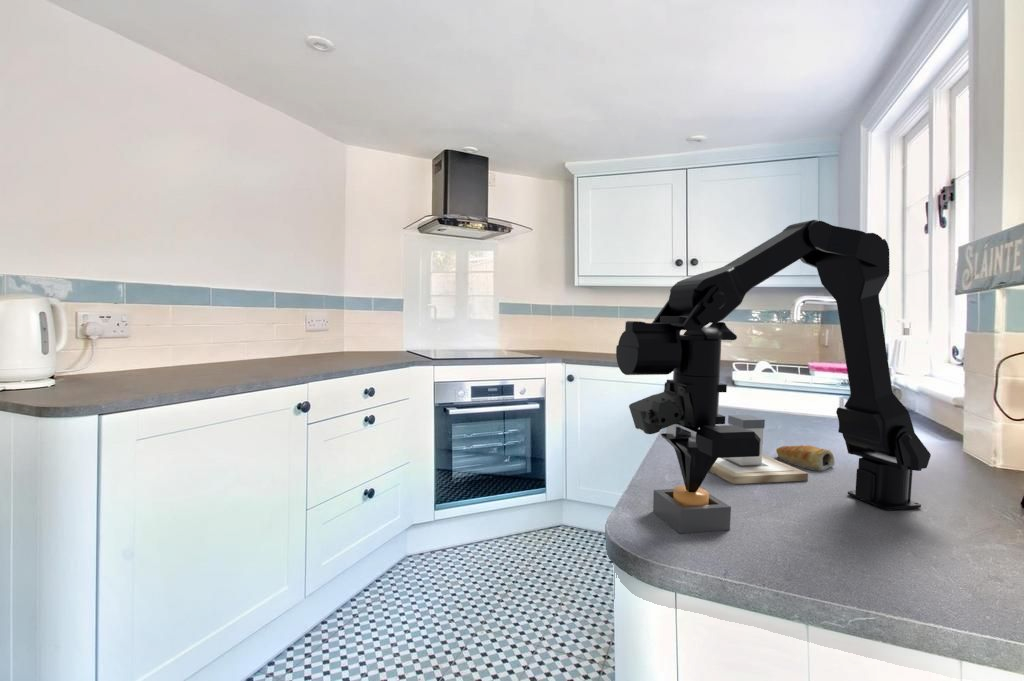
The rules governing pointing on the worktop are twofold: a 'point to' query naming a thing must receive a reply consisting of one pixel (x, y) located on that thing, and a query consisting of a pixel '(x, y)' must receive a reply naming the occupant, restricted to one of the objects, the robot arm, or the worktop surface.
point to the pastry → (807, 457)
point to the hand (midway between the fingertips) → (691, 491)
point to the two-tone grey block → (753, 425)
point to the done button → (690, 496)
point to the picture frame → (757, 471)
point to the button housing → (691, 513)
